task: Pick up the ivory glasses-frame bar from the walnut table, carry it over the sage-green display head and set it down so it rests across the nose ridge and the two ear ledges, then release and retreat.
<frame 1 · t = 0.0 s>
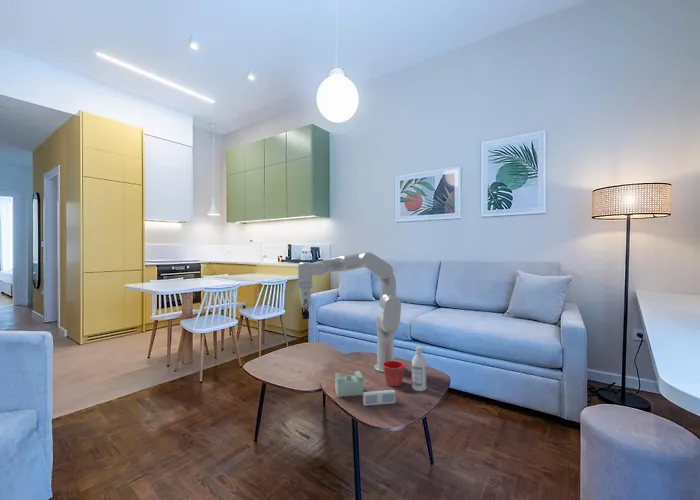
hand: (305, 316, 170), 31 cm above the table, fingers open, 9 cm apart
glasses: (379, 403, 139), on the table
head: (348, 392, 149), on the table
flower pot: (393, 383, 159), on the table
bath foam: (418, 388, 153), on the table
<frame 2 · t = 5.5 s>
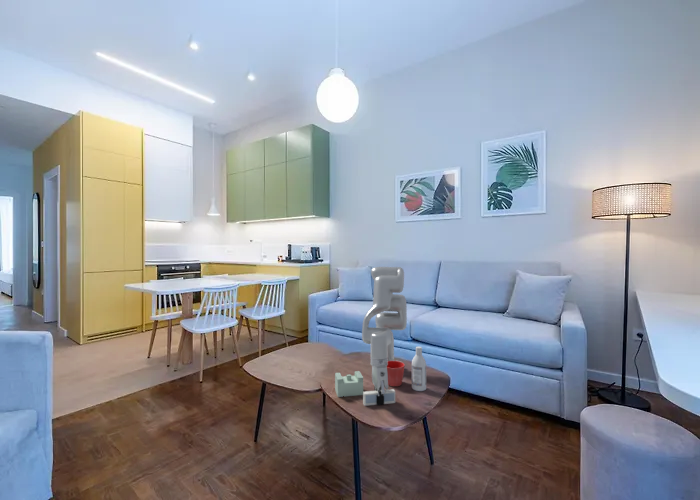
hand: (379, 402, 138), 0 cm above the table, fingers closed on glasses, 2 cm apart
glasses: (379, 402, 138), on the table, touching gripper
everything else where it was.
when the fingers open (10 cm above the table, at t = 10.3 s): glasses stays where it is, resting on head.
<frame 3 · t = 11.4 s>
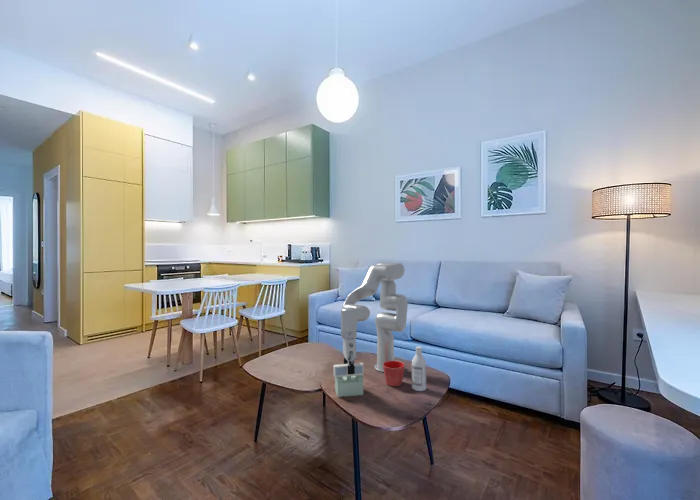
hand: (349, 370, 149), 10 cm above the table, fingers open, 9 cm apart
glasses: (348, 375, 149), point 8 cm above the table, touching head
everything else where it was.
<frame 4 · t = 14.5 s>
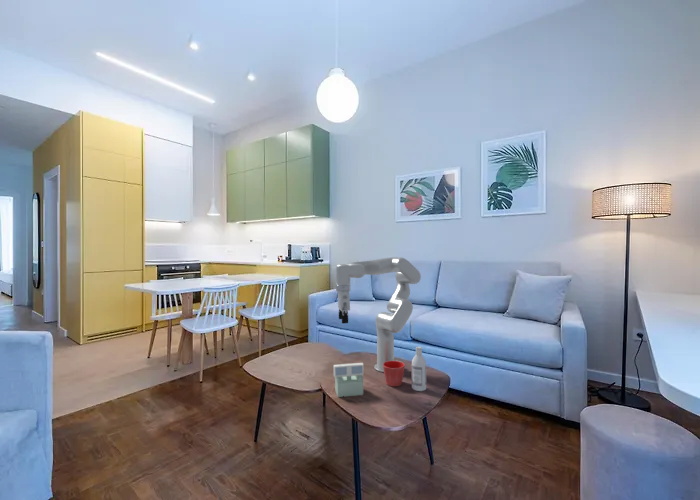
hand: (343, 321, 164), 30 cm above the table, fingers open, 9 cm apart
nothing on the table moved.
at the end: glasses 0.2 cm off-centre on the head, point 8.0 cm above the head's base; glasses tilted 0°; the gripper is holding nothing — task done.
